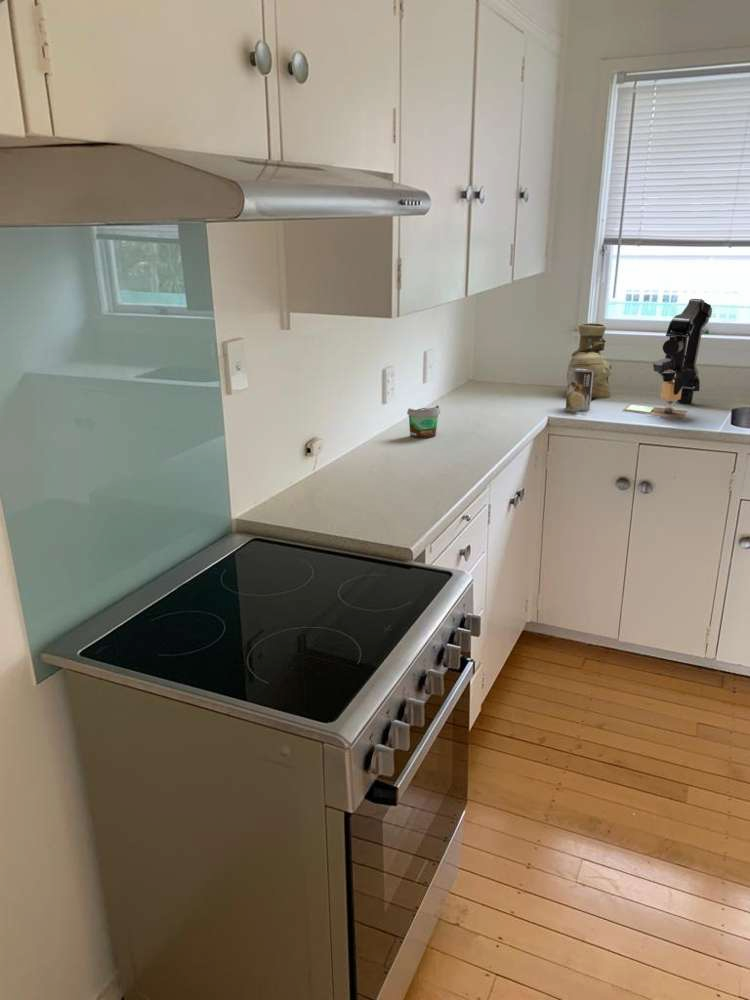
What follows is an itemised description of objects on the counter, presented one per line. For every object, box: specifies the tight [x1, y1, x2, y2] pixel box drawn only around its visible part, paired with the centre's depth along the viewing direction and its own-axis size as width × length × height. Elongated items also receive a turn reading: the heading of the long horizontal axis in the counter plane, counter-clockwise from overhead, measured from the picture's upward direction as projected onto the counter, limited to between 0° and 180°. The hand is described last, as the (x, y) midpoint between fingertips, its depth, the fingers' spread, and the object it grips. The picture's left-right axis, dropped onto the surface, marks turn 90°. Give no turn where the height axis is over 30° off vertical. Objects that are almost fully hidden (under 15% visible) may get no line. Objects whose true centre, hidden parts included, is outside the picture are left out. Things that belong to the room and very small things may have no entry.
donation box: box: [660, 380, 682, 401], centre depth 284 cm, size 5×5×6 cm
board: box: [621, 403, 689, 420], centre depth 290 cm, size 14×22×1 cm, turn 59°
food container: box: [406, 404, 441, 440], centre depth 255 cm, size 12×6×10 cm, turn 117°
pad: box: [626, 404, 656, 413], centre depth 292 cm, size 9×9×1 cm
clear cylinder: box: [664, 399, 675, 414], centre depth 287 cm, size 3×3×4 cm
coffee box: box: [564, 368, 594, 413], centre depth 291 cm, size 9×6×16 cm
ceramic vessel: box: [566, 322, 612, 400], centre depth 314 cm, size 19×21×30 cm
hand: (671, 393), depth 285 cm, fingers closed on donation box, 5 cm apart
